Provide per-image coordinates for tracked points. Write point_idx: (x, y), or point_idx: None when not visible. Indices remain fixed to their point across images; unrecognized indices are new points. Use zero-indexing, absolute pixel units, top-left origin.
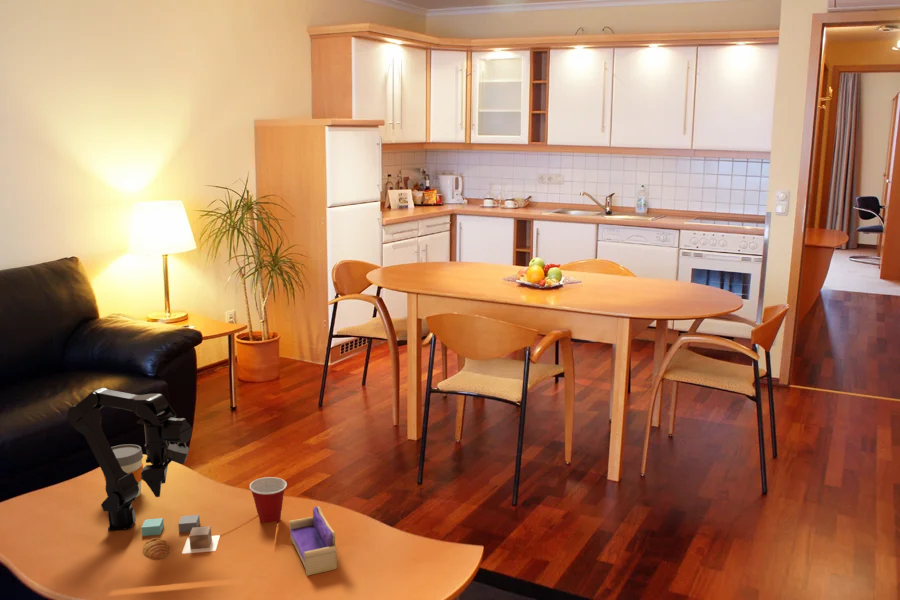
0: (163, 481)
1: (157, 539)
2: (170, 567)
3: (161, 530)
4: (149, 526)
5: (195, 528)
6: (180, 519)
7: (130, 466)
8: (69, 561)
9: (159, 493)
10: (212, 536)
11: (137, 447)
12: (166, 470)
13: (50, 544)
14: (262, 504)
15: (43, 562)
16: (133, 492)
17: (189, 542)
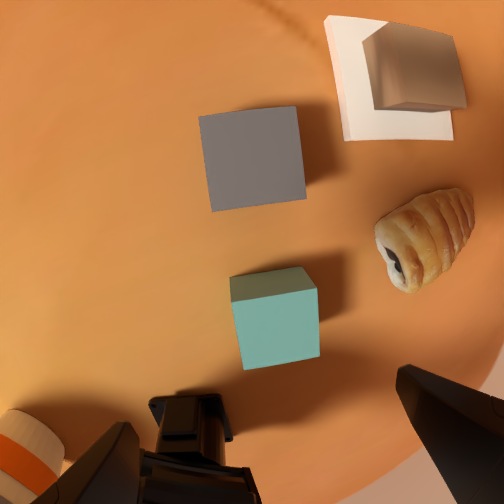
0: (129, 439)
1: (413, 252)
2: (482, 166)
3: (282, 278)
4: (315, 329)
5: (413, 85)
6: (253, 204)
7: (10, 494)
8: (385, 432)
9: (433, 376)
10: (340, 40)
11: None
12: (79, 502)
13: (293, 489)
14: None
15: (372, 464)
16: (186, 490)
17: (387, 124)
